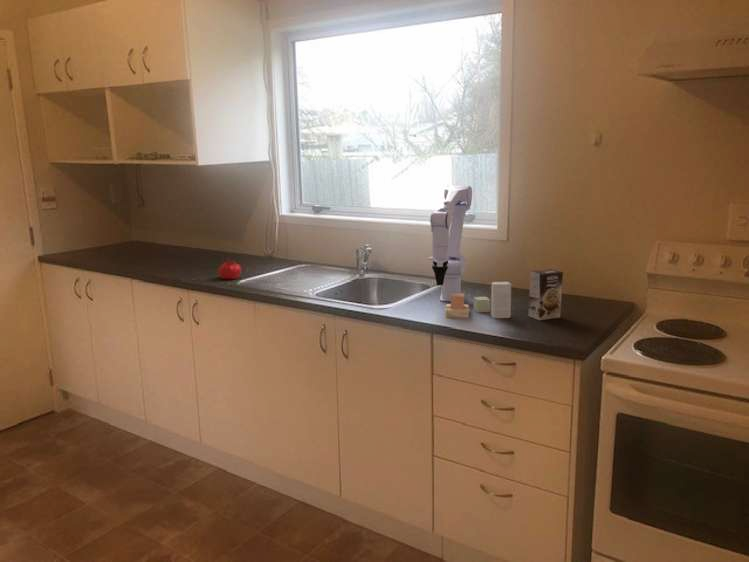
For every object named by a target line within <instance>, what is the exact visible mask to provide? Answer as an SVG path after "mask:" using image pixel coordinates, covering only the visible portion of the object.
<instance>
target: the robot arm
mask: <svg viewBox="0 0 749 562" xmlns="http://www.w3.org/2000/svg"><path fill="white" fill-rule="evenodd" d="M443 193H444V194H443V197H444V200H443V201H442V202H441V203H440V204H439V206H438V208H437V209H436V211H433V212H431V215H430V219H429V222H430V223H429V224H430V229H431V232H430V233H432V244H431V246H432V251H431V252H432V254H431V255H432V256H429V257H428V260H430V261H432V263H433V264H432V265H431V268H432V270H433V273H434V277H435V283H436V286H441V294H440V302H451V293H461V284H462V282H461V281H462V280H461V279H462V278H461V277H463V276H464V275H465V273H466V257H465V255H463V254H462V253H461V252H460V251H461V244H462V242H461V241H462V236H463V235H462V234H463V230H464V229H463V228H464V224H465V222H464V221H465V217H466V214H467V213H466V212H467V211H469V210H470V209H471V207H472V200H473V189H472V187H471V185H446V186H445V188H444V192H443Z"/></svg>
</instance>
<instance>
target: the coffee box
mask: <svg viewBox="0 0 749 562" xmlns="http://www.w3.org/2000/svg"><path fill="white" fill-rule="evenodd" d="M563 274H564V272H563V271H560V270H556V269H551V268H550V269H541V270H540V269H539V270H531V271H530V279H529V281H530V282H529V296H528V297H529V298H528V299H529V300H528V317H530V318H532V319H535V320H537V321H545V320H551V319H552V320H553V319H559V318H561V309H562V296H563V295H562V294H563V293H562V292H563V290H562V289H563V278H564V277H563Z"/></svg>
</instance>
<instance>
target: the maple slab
mask: <svg viewBox="0 0 749 562" xmlns="http://www.w3.org/2000/svg"><path fill="white" fill-rule="evenodd" d="M469 312H470V306H469V304H464V309H451V303H446V304H445V315H444V316H445V318H460V319H461V318H463V319H464V318H466V319H469V318H470V313H469Z"/></svg>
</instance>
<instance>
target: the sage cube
mask: <svg viewBox="0 0 749 562" xmlns="http://www.w3.org/2000/svg"><path fill="white" fill-rule="evenodd" d="M473 310H474V311H475V312H477V313H487V312H488V313H491V299H490V298H489V297H487V296H475V297H473Z"/></svg>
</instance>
